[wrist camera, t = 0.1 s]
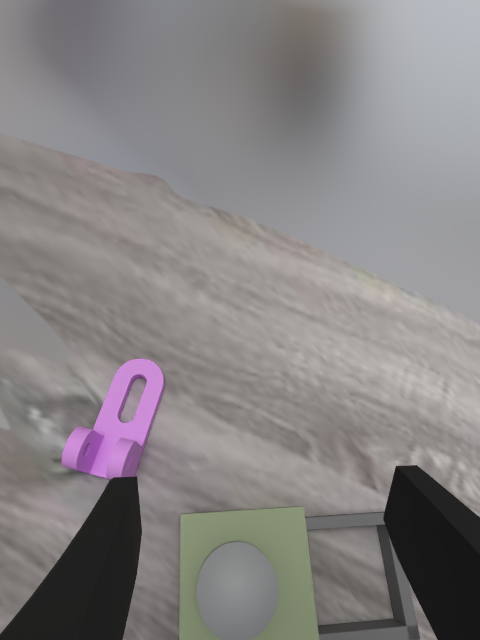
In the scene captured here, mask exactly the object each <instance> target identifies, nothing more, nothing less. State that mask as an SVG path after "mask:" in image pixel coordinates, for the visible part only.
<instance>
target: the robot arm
mask: <svg viewBox="0 0 480 640" xmlns="http://www.w3.org/2000/svg"><path fill="white" fill-rule="evenodd" d="M383 520H384V523H385V525H386V528H387V531H388V534H389V537H390V540H391V542H392V545H393V548H394V550H395V553H396V556H397V558H398V560H399V562H400V564H401V567H402V569H403V571H404V573H405V575H406V577H407V579H408V581H409V583H410V585H411V587H412V589H413V591H414V593H415V595H416V597H417V599H418V601H419V603H420V605H421V607H422V609H423V611H424V613H425V615H426V617H427V619H428V621H429V623H430V625H431V627H432V629H433V631H434V633H435V635H436V637H437V639H438V640H480V517H479V516H477V515H476V514H475V513H474V512H472V511H471V510H470V509H469V508H468V507H466V506H465V505H464V504H463V503H462V502H460V501H459V500H458V499H457V498H456V497H454V496H453V495H452V494H451V493H450V492H448V491H447V490H446V489H445V488H444V487H442V486H441V485H440V484H439V483H438V482H436V481H435V480H434V479H433V478H432V477H430V476H429V475H428V474H427V473H426V472H424V471H423V470H422V469H421V468H419V467H418V466H417V465H413V466H396V468H395V472H394V476H393V481H392V485H391V489H390V493H389V497H388V501H387V505H386V509H385V513H384V517H383ZM141 535H142V527H141V516H140V505H139V494H138V483H137V477H113V478H112V479H111V480H110V481H109V483H108V485H107V486H106V488H105V490H104V492H103V493H102V495H101V497H100V498H99V500H98V502H97V503H96V505H95V507H94V508H93V510H92V511H91V513H90V514H89V516H88V518H87V519H86V521H85V522H84V524H83V525H82V527H81V528H80V530H79V531H78V533H77V534H76V536H75V537H74V539H73V540H72V541H71V543H70V544H69V546H68V547H67V549H66V550H65V552H64V553H63V555H62V556H61V557H60V559H59V560H58V562H57V563H56V564H55V566H54V567H53V568H52V570H51V571H50V572H49V574H48V575H47V576H46V578H45V579H44V580H43V582H42V583H41V584H40V586H39V587H38V588H37V589H36V591H35V592H34V593H33V595H32V596H31V597H30V599H29V600H28V601H27V602H26V604H25V605H24V606H23V607H22V609H21V610H20V611H19V612H18V614H17V615H16V616H15V617H14V618H13V620H12V621H11V622H10V623H9V624H8V626H7V627H6V628H5V629H4V630H3V632H2V633H1V634H0V640H122V639H123V635H124V630H125V626H126V621H127V617H128V612H129V608H130V603H131V598H132V594H133V589H134V584H135V580H136V575H137V568H138V560H139V552H140V543H141Z"/></svg>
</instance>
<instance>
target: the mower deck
mask: <svg viewBox="0 0 480 640" xmlns="http://www.w3.org/2000/svg"><path fill="white" fill-rule="evenodd" d="M384 513H385V512H374V513H359V514H343V515H328V516H313V517H305V512H304V507H284V508H269V509H253V510H237V511H221V512H206V513H190V514H181V518H180V610H179V640H418V639H420V636H419V631H418V626H417V621H416V616H415V612H414V607H413V602H412V597H411V592H410V587H409V583H408V579H407V577H406V575H405V573H404V571H403V569H402V567H401V564H400V562H399V560H398V558H397V556H396V553H395V550H394V548H393V545H392V542H391V540H390V537H389V534H388V531H387V528H386V525H385V523H384V520H383V517H384ZM368 525H377V529H378V535H379V540H380V545H381V551H382V556H383V561H384V567H385V572H386V577H387V583H388V588H389V594H390V599H391V604H392V610H393V615H394V619H386V620H375V621H365V622H354V623H344V624H333V625H322V626H318V624H317V616H316V607H315V598H314V590H313V581H312V572H311V564H310V555H309V546H308V538H307V530H311V529H325V528H340V527H354V526H368Z"/></svg>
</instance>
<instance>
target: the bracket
mask: <svg viewBox="0 0 480 640" xmlns="http://www.w3.org/2000/svg"><path fill="white" fill-rule="evenodd" d="M137 378H145V379H146V380H147V384H146V386H145V389H144V392H143V395H142V397H141V400H140V403H139V406H138V408H137V411H136V414H135V417H134V419H133V420H132V421H130V422H128V423H122V422H121V421H120V414H121V412H122V409H123V407H124V404H125V401H126V399H127V396H128V393H129V391H130V388H131V386H132V383H133V381H134V380H135V379H137ZM164 385H165V382H164V377H163V374H162V372H161V370H160V368H159V367H158V366H157V365H156V364H155V363H154V362H152V361H150V360H147V359H134V360H131V361H129V362H127V363H125V364H124V365H122V366H121V367H120V368H119V369H118V371H117V372H116V374H115V376H114V379H113V381H112V384H111V386H110V389H109V391H108V394H107V396H106V398H105V401H104V403H103V406H102V408H101V411H100V413H99V416H98V418H97V421H96V423H95V425H94V428H93V430H91V429H88V428H84V427H80V426H79V427H77V428H76V429H75V430H74V431H73V432H72V433H71V435H70V437H69V438H68V440H67V442H66V445H65V447H64V451H63V454H62V465H63V466H64V467H67V468H71V469H74V470H78V471H81V472H85V473H89V474H93V475H96V476H100V477H104V478H107V479H112V478H113V477H134V476H135V473H136V470H137V467H138V464H139V461H140V458H141V455H142V453H143V450H144V447H145V444H146V441H147V438H148V435H149V432H150V429H151V426H152V423H153V420H154V417H155V414H156V411H157V408H158V405H159V403H160V400H161V397H162V394H163V391H164Z"/></svg>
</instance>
